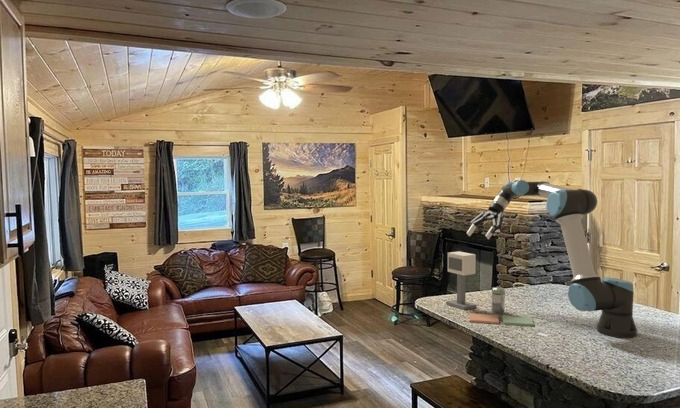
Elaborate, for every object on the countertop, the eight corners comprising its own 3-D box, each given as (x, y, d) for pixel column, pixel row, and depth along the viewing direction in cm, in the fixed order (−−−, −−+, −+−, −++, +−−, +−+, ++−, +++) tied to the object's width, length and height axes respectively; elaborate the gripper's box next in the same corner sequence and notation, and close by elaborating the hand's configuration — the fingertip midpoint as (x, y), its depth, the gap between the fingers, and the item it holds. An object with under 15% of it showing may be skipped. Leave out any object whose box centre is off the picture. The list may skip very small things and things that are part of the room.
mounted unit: (463, 310, 251) (463, 256, 249) (445, 304, 262) (446, 252, 261) (476, 307, 256) (477, 254, 254) (458, 301, 267) (459, 251, 265)
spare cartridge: (504, 314, 243) (505, 290, 242) (491, 313, 245) (492, 289, 244) (504, 311, 249) (504, 287, 248) (491, 310, 250) (491, 286, 250)
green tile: (533, 326, 224) (533, 324, 224) (503, 324, 227) (503, 322, 227) (531, 319, 235) (531, 317, 235) (502, 317, 238) (502, 315, 238)
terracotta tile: (498, 323, 228) (498, 321, 228) (469, 321, 231) (469, 319, 231) (497, 317, 239) (497, 315, 239) (469, 315, 242) (469, 313, 242)
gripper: (520, 212, 259) (499, 243, 253) (484, 209, 281) (464, 238, 275) (513, 202, 256) (491, 233, 250) (477, 200, 278) (457, 229, 272)
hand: (477, 236), depth 262 cm, fingers open, 13 cm apart
